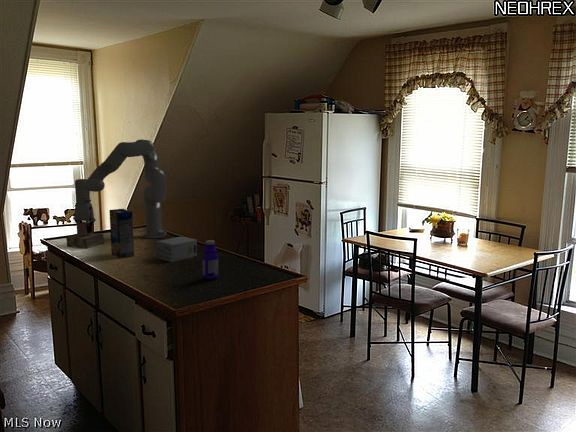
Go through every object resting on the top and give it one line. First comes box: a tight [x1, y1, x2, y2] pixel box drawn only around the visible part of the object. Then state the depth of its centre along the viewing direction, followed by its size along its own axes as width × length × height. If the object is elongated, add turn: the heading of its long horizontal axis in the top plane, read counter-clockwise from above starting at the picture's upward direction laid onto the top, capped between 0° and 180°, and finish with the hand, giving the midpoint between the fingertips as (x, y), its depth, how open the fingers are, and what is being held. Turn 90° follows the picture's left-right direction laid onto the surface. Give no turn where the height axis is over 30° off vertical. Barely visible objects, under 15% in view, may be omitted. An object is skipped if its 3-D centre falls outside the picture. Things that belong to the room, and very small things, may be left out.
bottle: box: [201, 239, 219, 280], centre depth 235 cm, size 7×6×17 cm
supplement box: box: [155, 236, 198, 263], centre depth 273 cm, size 17×13×9 cm
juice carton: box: [108, 208, 135, 259], centre depth 275 cm, size 12×8×24 cm, turn 40°
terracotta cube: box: [76, 221, 94, 235], centre depth 298 cm, size 6×6×6 cm
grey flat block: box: [65, 232, 105, 250], centre depth 299 cm, size 14×14×6 cm
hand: (85, 231), depth 298 cm, fingers closed on terracotta cube, 6 cm apart
